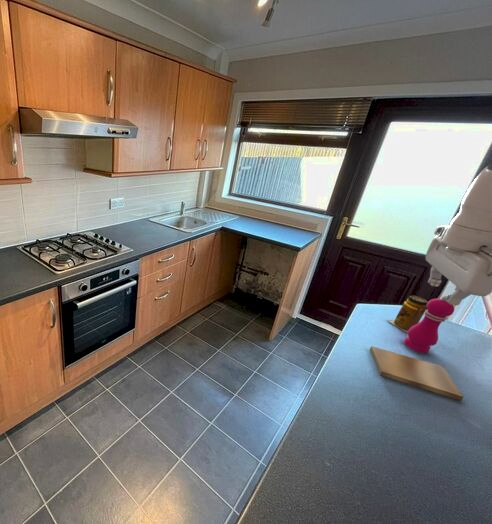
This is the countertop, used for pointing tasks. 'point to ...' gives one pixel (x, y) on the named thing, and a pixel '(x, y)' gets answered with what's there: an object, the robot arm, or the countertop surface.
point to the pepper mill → (428, 325)
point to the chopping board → (415, 372)
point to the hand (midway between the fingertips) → (441, 293)
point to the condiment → (410, 313)
